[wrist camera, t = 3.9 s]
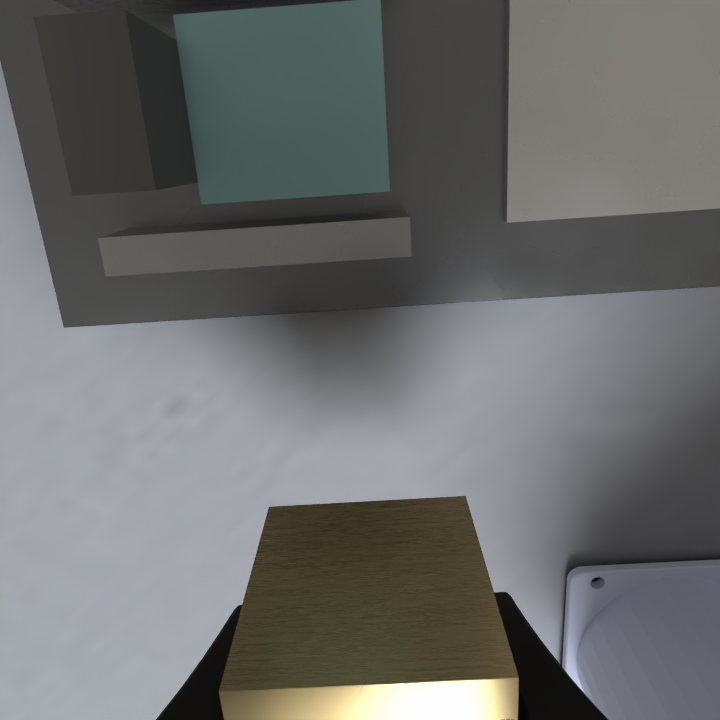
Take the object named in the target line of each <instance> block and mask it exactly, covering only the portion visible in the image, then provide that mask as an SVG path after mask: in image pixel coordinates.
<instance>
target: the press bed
mask: <svg viewBox="0 0 720 720" xmlns="http://www.w3.org/2000/svg"><path fill="white" fill-rule="evenodd" d="M341 1H353V0H0V60H1V65H2V69H3V73H4V77H5V82H6V86H7V90H8V94H9V98H10V103H11V107H12V111H13V115H14V119H15V124H16V128H17V132H18V136H19V140H20V145H21V149H22V153H23V157H24V161H25V166H26V170H27V174H28V178H29V183H30V187H31V191H32V195H33V199H34V204H35V208H36V212H37V216H38V220H39V225H40V229H41V233H42V237H43V241H44V246H45V250H46V254H47V258H48V262H49V267H50V271H51V275H52V279H53V284H54V288H55V292H56V296H57V300H58V305H59V309H60V313H61V317H62V321H63V326H64V327H80V326H96V325H112V324H128V323H143V322H159V321H175V320H191V319H207V318H223V317H238V316H254V315H270V314H286V313H302V312H318V311H333V310H349V309H365V308H381V307H397V306H413V305H428V304H444V303H460V302H476V301H492V300H508V299H523V298H539V297H555V296H571V295H587V294H603V293H618V292H634V291H650V290H666V289H682V288H698V287H713V286H720V0H381V19H382V39H383V60H384V80H385V101H386V121H387V142H388V162H389V183H390V192H376V193H361V194H347V195H332V196H318V197H303V198H289V199H274V200H260V201H245V202H231V203H216V204H202V205H201V199H200V193H199V186H198V183H194V184H188V185H182V186H177V187H171V188H165V189H160V190H151V191H137V192H123V193H108V194H94V195H80V196H72V192H71V188H70V183H69V179H68V174H67V169H66V165H65V160H64V155H63V151H62V146H61V142H60V137H59V132H58V128H57V123H56V119H55V114H54V109H53V105H52V100H51V95H50V91H49V86H48V82H47V77H46V72H45V68H44V63H43V59H42V54H41V49H40V45H39V40H38V35H37V31H36V26H35V22H34V17H35V16H47V15H60V14H73V13H85V12H98V11H111V10H123V9H125V10H127V11H128V12H130V13H132V14H133V15H135V16H137V17H138V18H140V19H142V20H143V21H145V22H147V23H148V24H150V25H152V26H153V27H155V28H157V29H158V30H160V31H162V32H163V33H165V34H167V35H168V36H170V37H172V38H174V39H175V40H177V38H176V32H175V25H174V18H173V15H175V14H188V13H201V12H213V11H226V10H239V9H252V8H264V7H277V6H290V5H302V4H315V3H328V2H341Z"/></svg>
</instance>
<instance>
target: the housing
mask: <svg viewBox="0 0 720 720" xmlns="http://www.w3.org/2000/svg"><path fill="white" fill-rule="evenodd" d="M219 696H220V701H221V707H222V712H223V717H224V720H518V697H519V677H518V673H517V670H516V666H515V663H514V660H513V656H512V653H511V649H510V646H509V642H508V639H507V636H506V632H505V629H504V625H503V622H502V619H501V615H500V612H499V608H498V605H497V602H496V598H495V595H494V591H493V588H492V585H491V581H490V578H489V574H488V571H487V568H486V564H485V561H484V557H483V554H482V551H481V547H480V544H479V540H478V537H477V533H476V530H475V527H474V523H473V520H472V516H471V513H470V510H469V506H468V503H467V499H466V496H458V497H440V498H421V499H403V500H385V501H367V502H349V503H331V504H313V505H294V506H276V507H269V509H268V513H267V517H266V520H265V524H264V528H263V531H262V535H261V539H260V542H259V546H258V550H257V553H256V557H255V561H254V564H253V568H252V572H251V575H250V579H249V583H248V586H247V590H246V594H245V597H244V601H243V605H242V608H241V612H240V616H239V619H238V623H237V627H236V630H235V634H234V638H233V641H232V645H231V649H230V652H229V656H228V660H227V663H226V667H225V670H224V674H223V678H222V681H221V685H220V689H219Z"/></svg>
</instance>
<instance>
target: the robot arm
mask: <svg viewBox="0 0 720 720" xmlns="http://www.w3.org/2000/svg"><path fill="white" fill-rule="evenodd" d="M597 577H600V579H599V580H598V581H595V582H591V581H592V580H593V579H594V578H597ZM494 595H495V598H496V602H497V605H498V608H499V612H500V615H501V619H502V622H503V625H504V629H505V632H506V636H507V639H508V642H509V646H510V649H511V653H512V656H513V660H514V663H515V666H516V670H517V673H518V677H519V697H518V720H720V559H719V560H698V561H678V562H658V563H638V564H618V565H598V566H581V567H576V568H574V569H573V570H571V571H570V573H569V574H568V577H567V589H566V606H565V624H564V642H563V660H562V666H561V665H560V664H559V663H558V661H557V660H556V659H555V658H554V656H553V655H552V654H551V653H550V651H549V650H548V649H547V647H546V646H545V645H544V644H543V642H542V641H541V640H540V638H539V637H538V635H537V634H536V633H535V631H534V630H533V629H532V627H531V626H530V624H529V623H528V622H527V620H526V619H525V617H524V616H523V614H522V613H521V611H520V610H519V608H518V607H517V605H516V604H515V602H514V600H513V599H512V597H511V596H510V595H509V594H508V593H506V592H498V593H494ZM241 608H242V605H238V607H237V608H236V609H235V610H234V611H233V613H232V614H231V616H230V617H229V619H228V620H227V622H226V624H225V625H224V627H223V628H222V630H221V631H220V633H219V635H218V636H217V638H216V639H215V641H214V642H213V644H212V645H211V647H210V648H209V649H208V651H207V652H206V654H205V655H204V657H203V658H202V660H201V661H200V662H199V664H198V665H197V667H196V668H195V669H194V671H193V672H192V674H191V675H190V676H189V678H188V679H187V681H186V682H185V683H184V685H183V686H182V687H181V689H180V690H179V691H178V693H177V694H176V695H175V696H174V698H173V699H172V700H171V701H170V703H169V704H168V705H167V707H166V708H165V709H164V710H163V712H162V713H161V714H160V715H159V717H158V718H157V719H156V720H224V717H223V712H222V707H221V701H220V696H219V689H220V685H221V681H222V678H223V674H224V670H225V667H226V663H227V660H228V656H229V652H230V649H231V645H232V641H233V638H234V634H235V630H236V627H237V623H238V619H239V616H240V612H241Z"/></svg>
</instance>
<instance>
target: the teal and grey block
mask: <svg viewBox="0 0 720 720" xmlns="http://www.w3.org/2000/svg"><path fill="white" fill-rule="evenodd" d="M173 18H174V25H175V32H176V38H177V40H175V39H174V38H172V37H170V36H168V35H167V34H165V33H163V32H162V31H160V30H158V29H157V28H155V27H153V26H152V25H150V24H148V23H147V22H145V21H143V20H142V19H140V18H138V17H137V16H135V15H133V14H132V13H130V12H128V11H127V10H125V9H123V10H111V11H98V12H85V13H73V14H60V15H47V16H35V17H34V22H35V26H36V31H37V35H38V40H39V45H40V49H41V54H42V59H43V63H44V68H45V72H46V77H47V82H48V86H49V91H50V95H51V100H52V105H53V109H54V114H55V119H56V123H57V128H58V132H59V137H60V142H61V146H62V151H63V155H64V160H65V165H66V169H67V174H68V179H69V183H70V188H71V192H72V196H80V195H94V194H108V193H123V192H137V191H151V190H160V189H165V188H171V187H177V186H182V185H188V184H194V183H198V186H199V193H200V199H201V205H202V204H216V203H231V202H245V201H260V200H274V199H289V198H303V197H318V196H332V195H347V194H361V193H376V192H390V183H389V162H388V142H387V121H386V101H385V80H384V60H383V39H382V19H381V0H353V1H341V2H328V3H315V4H302V5H290V6H277V7H264V8H252V9H239V10H226V11H213V12H201V13H188V14H175V15H173Z"/></svg>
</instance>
